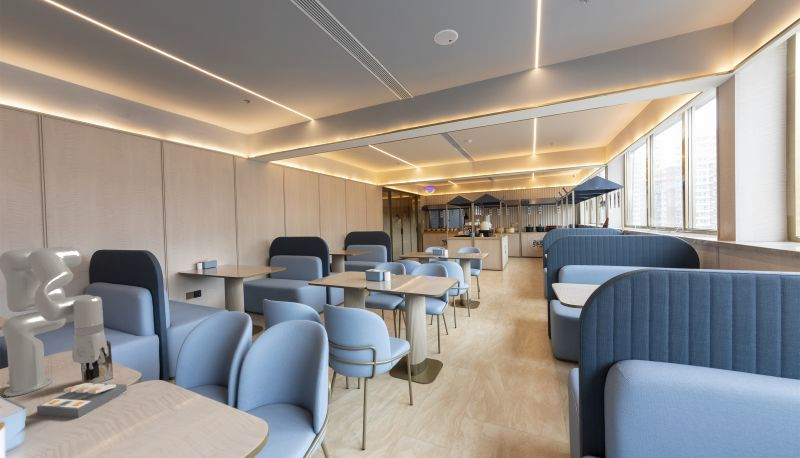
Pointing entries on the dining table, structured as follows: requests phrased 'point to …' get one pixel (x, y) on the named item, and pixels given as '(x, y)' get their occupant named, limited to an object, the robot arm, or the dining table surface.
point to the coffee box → (101, 369)
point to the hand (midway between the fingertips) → (92, 378)
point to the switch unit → (79, 402)
